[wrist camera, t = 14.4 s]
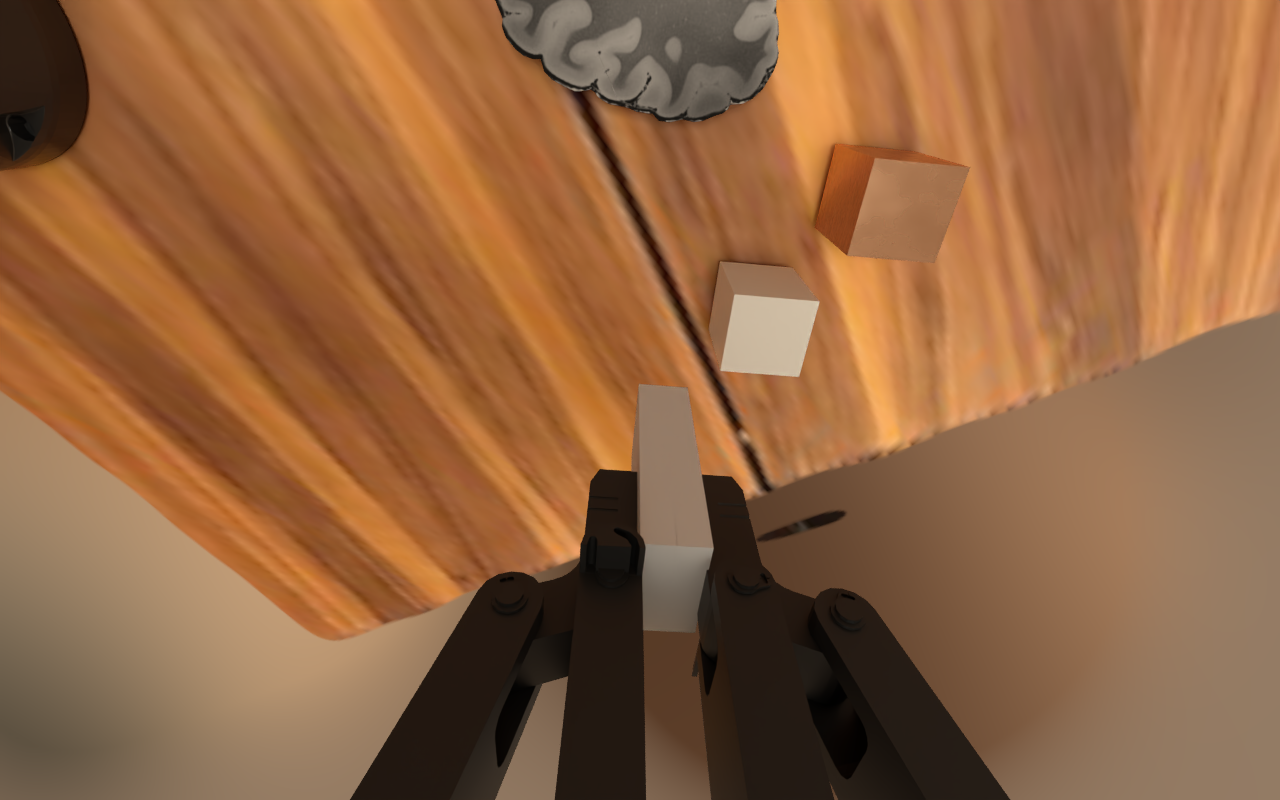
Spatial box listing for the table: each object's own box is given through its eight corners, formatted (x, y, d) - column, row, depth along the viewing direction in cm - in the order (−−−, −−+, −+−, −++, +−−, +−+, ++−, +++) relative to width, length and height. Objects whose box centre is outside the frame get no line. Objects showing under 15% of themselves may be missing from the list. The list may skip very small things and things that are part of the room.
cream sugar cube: (708, 329, 41) (720, 370, 35) (720, 261, 38) (734, 294, 33) (776, 334, 41) (799, 376, 36) (792, 267, 39) (819, 301, 33)
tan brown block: (810, 223, 38) (846, 255, 31) (831, 142, 35) (875, 158, 29) (883, 230, 38) (934, 263, 32) (908, 149, 36) (970, 167, 29)
